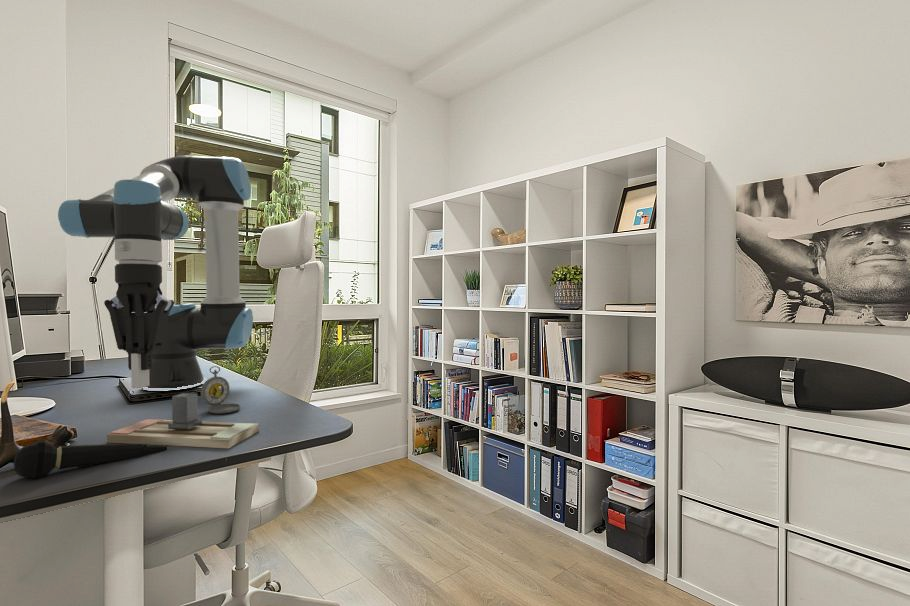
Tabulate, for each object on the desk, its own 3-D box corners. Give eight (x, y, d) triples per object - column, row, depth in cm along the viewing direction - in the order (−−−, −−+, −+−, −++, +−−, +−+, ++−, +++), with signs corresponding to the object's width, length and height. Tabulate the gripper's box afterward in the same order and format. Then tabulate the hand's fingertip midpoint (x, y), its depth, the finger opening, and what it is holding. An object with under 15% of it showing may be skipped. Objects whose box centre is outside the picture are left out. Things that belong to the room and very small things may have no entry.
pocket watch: (232, 415, 107) (231, 370, 107) (194, 415, 107) (193, 370, 107) (247, 405, 116) (247, 364, 115) (212, 405, 116) (211, 364, 115)
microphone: (162, 466, 86) (9, 482, 72) (163, 432, 88) (14, 443, 74) (170, 464, 82) (11, 481, 69) (171, 429, 84) (17, 440, 70)
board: (148, 426, 99) (148, 417, 98) (258, 431, 96) (258, 421, 95) (106, 442, 89) (106, 432, 89) (228, 448, 86) (228, 437, 86)
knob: (183, 422, 94) (182, 392, 94) (202, 423, 94) (201, 393, 94) (168, 428, 90) (167, 397, 90) (188, 429, 90) (187, 397, 90)
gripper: (90, 262, 89) (93, 389, 90) (155, 261, 87) (157, 391, 88) (123, 264, 97) (125, 382, 97) (183, 264, 95) (185, 384, 95)
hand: (140, 386), depth 92 cm, fingers closed
